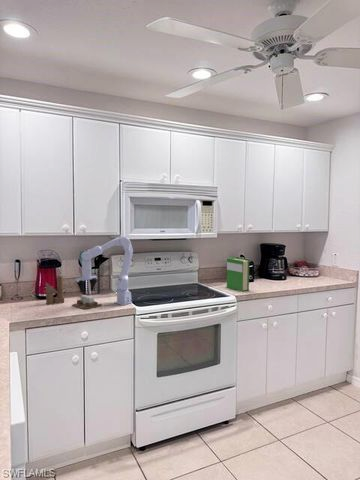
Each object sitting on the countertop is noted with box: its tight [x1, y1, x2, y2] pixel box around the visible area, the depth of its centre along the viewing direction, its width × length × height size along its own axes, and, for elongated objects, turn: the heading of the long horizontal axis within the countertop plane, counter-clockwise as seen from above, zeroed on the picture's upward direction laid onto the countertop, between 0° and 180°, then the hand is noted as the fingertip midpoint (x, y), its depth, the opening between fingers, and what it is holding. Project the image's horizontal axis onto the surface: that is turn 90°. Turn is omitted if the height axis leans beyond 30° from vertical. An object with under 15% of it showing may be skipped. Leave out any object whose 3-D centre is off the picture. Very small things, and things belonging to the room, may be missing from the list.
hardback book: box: [226, 257, 250, 293], centre depth 276 cm, size 18×7×24 cm, turn 34°
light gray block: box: [80, 294, 95, 305], centre depth 223 cm, size 10×3×5 cm, turn 50°
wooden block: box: [45, 274, 65, 306], centre depth 228 cm, size 4×11×18 cm, turn 124°
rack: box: [72, 299, 103, 311], centre depth 223 cm, size 14×12×3 cm
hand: (87, 291), depth 222 cm, fingers open, 7 cm apart
